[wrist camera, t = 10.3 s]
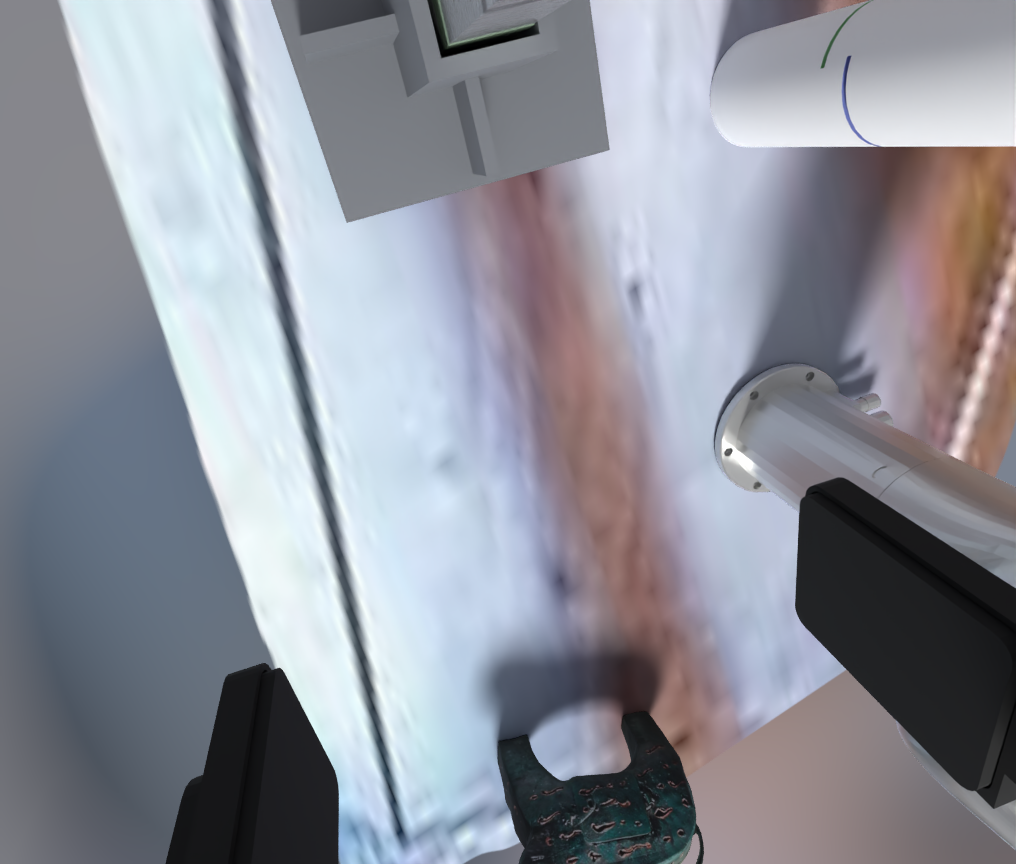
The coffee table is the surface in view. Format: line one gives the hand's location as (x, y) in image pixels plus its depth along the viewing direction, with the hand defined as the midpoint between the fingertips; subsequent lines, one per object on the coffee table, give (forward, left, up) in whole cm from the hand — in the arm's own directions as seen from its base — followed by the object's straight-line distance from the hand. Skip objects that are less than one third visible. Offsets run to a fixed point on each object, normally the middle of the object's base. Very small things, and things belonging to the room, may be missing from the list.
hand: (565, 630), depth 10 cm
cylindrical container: (-28, -5, -36) cm, 45 cm away
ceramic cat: (-3, +53, -36) cm, 64 cm away
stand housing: (-7, -13, -35) cm, 38 cm away
